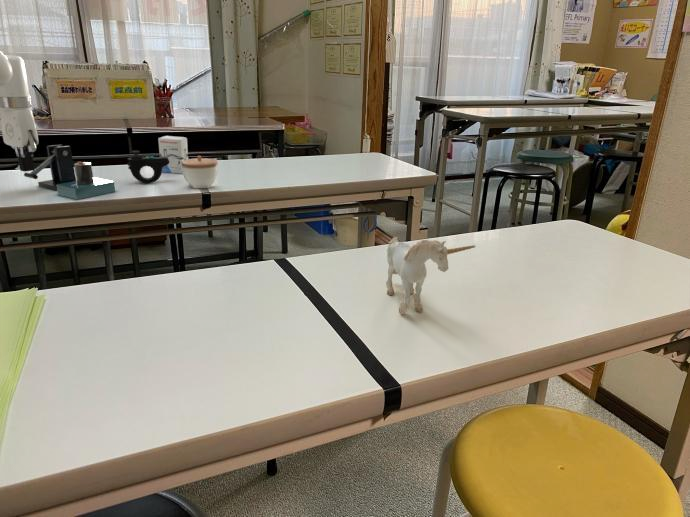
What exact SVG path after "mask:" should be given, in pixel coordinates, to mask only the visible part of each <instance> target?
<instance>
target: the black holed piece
mask: <svg viewBox="0 0 690 517" xmlns="http://www.w3.org/2000/svg"><path fill="white" fill-rule="evenodd" d="M132 153H133V155H131V156H130V157H128V158H127V161H128V163H127V166H128V167H127V168H128V170H130V173H131V175H132V177H133V178H134V179H135V180H137V181H138V182H140V183H144V184H152V183H155V182H156V181H158V180H159V179H160V178H161V176H162V173H163V172H162V168H163V167H164V166H166V165H168V164H169V162H170V161H169V159H168V157H160V156H152V155H151V156H149V155H145V156H142V155H140V150H132ZM144 167H149V168H151V169H152V171H153V174H152V175H151V176H150V177H145V176H143V175H142V174H141V171H142V169H144Z"/></svg>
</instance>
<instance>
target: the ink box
mask: <svg viewBox="0 0 690 517" xmlns="http://www.w3.org/2000/svg"><path fill="white" fill-rule="evenodd" d="M157 141H158V152H159V157H168V159H169V161H170V162H169V164H168V165H166V166H164V167H163V168H162V173H171V174H180V175H181V174H182V175H183V170H182V164H181V162H182V161H183V160H187V159H189V151H188V150H189V149H188V138H187V137H184V136H173V135H164V136H161V137H158V139H157Z"/></svg>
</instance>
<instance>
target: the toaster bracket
mask: <svg viewBox="0 0 690 517" xmlns="http://www.w3.org/2000/svg"><path fill="white" fill-rule="evenodd" d="M57 146H62V147H57ZM54 149H55V155H56V159H55V160H53V161H52V162H51V163H50V164H49V168H50V173H51V178H52V179H49V180H48V179H47V180H42V181H38V182H37V184H38V187H41V188H43V189H48V190H52V191H56V192H58V191H57V184H63V183H68V182H73V181H76V174H75V168H74V160H73V153H72V147H71V145H63V144H52V145H47V146H46V151H47V159H48V158H49V157H50V156H52V155H53V153H52V152H51V151H53V150H54Z"/></svg>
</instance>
